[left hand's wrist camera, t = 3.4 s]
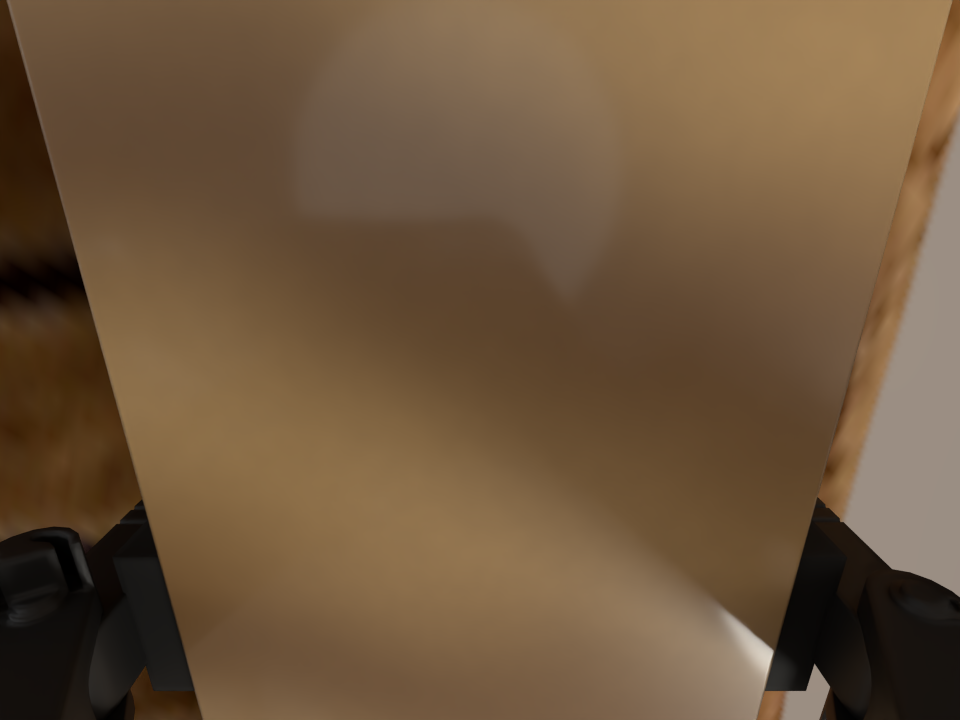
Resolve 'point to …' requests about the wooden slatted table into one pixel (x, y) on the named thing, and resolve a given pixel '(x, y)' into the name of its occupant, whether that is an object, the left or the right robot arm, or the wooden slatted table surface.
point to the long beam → (479, 328)
